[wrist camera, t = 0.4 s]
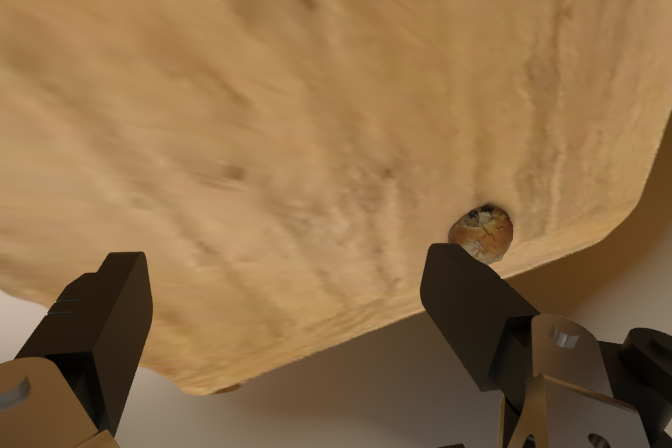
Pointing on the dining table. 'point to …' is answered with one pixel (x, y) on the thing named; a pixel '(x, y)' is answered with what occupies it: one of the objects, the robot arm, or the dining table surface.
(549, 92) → the dining table surface
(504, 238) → the bread roll
